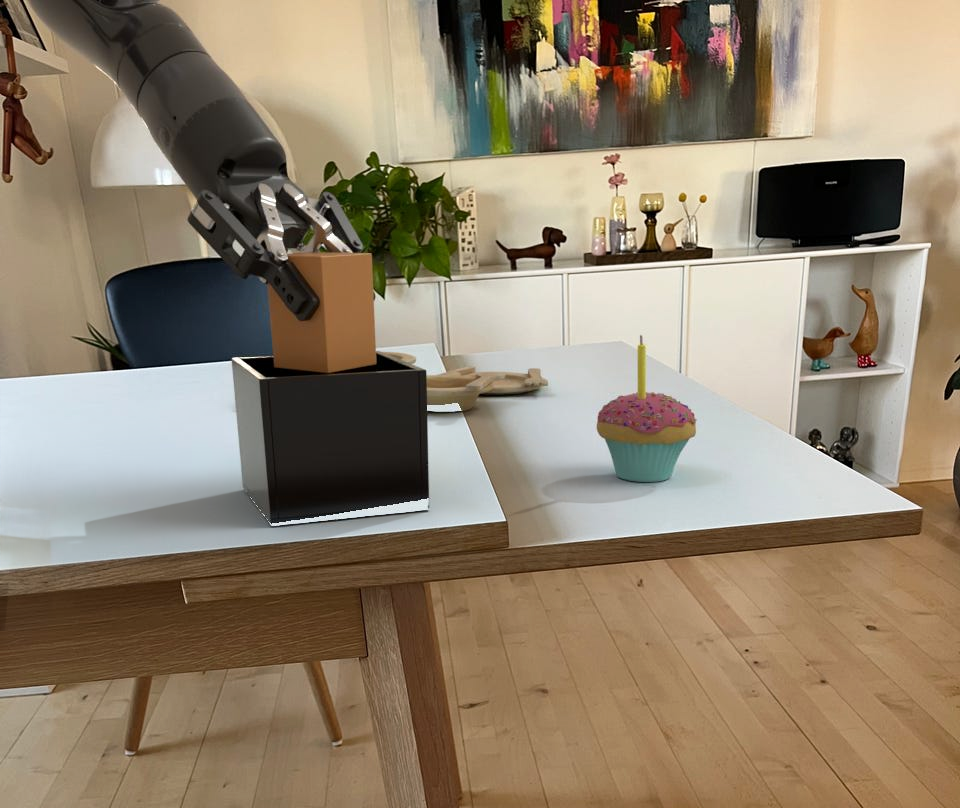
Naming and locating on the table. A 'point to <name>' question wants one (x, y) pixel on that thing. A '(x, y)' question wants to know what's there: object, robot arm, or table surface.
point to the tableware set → (474, 384)
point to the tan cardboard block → (328, 315)
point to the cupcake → (645, 430)
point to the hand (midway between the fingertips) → (340, 309)
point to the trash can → (331, 436)
